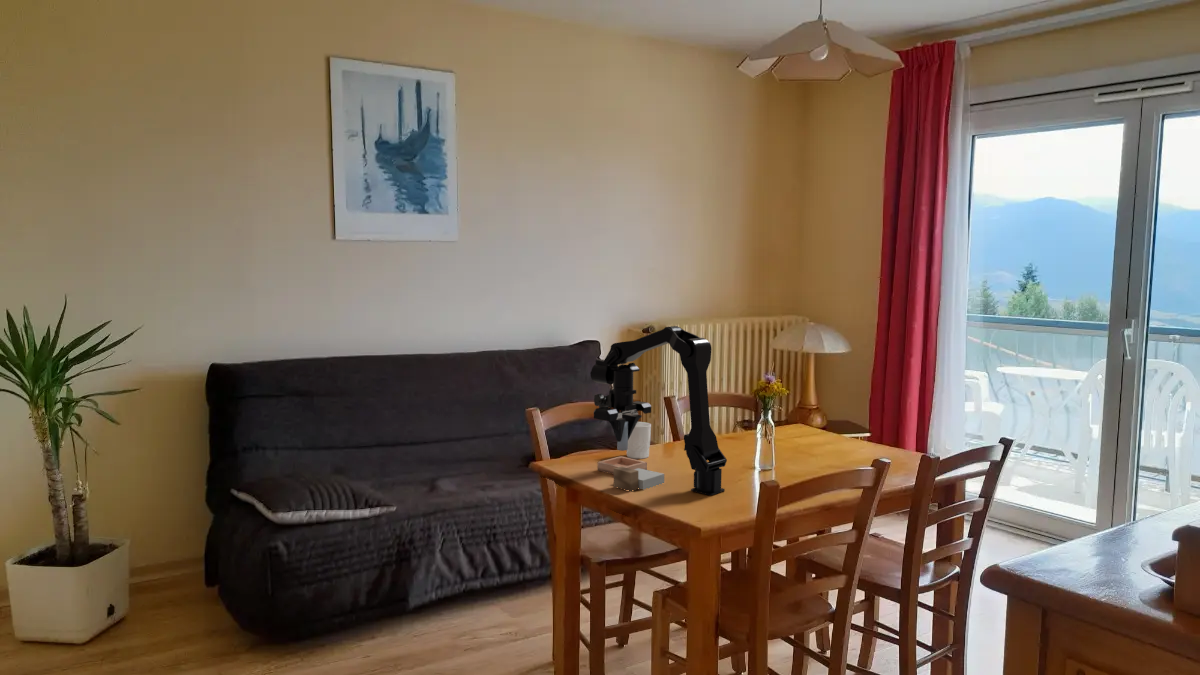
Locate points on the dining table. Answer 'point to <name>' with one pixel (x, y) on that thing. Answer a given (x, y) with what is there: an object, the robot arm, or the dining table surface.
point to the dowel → (623, 439)
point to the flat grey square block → (649, 478)
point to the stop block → (626, 478)
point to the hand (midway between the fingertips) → (622, 440)
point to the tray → (620, 464)
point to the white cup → (639, 441)
